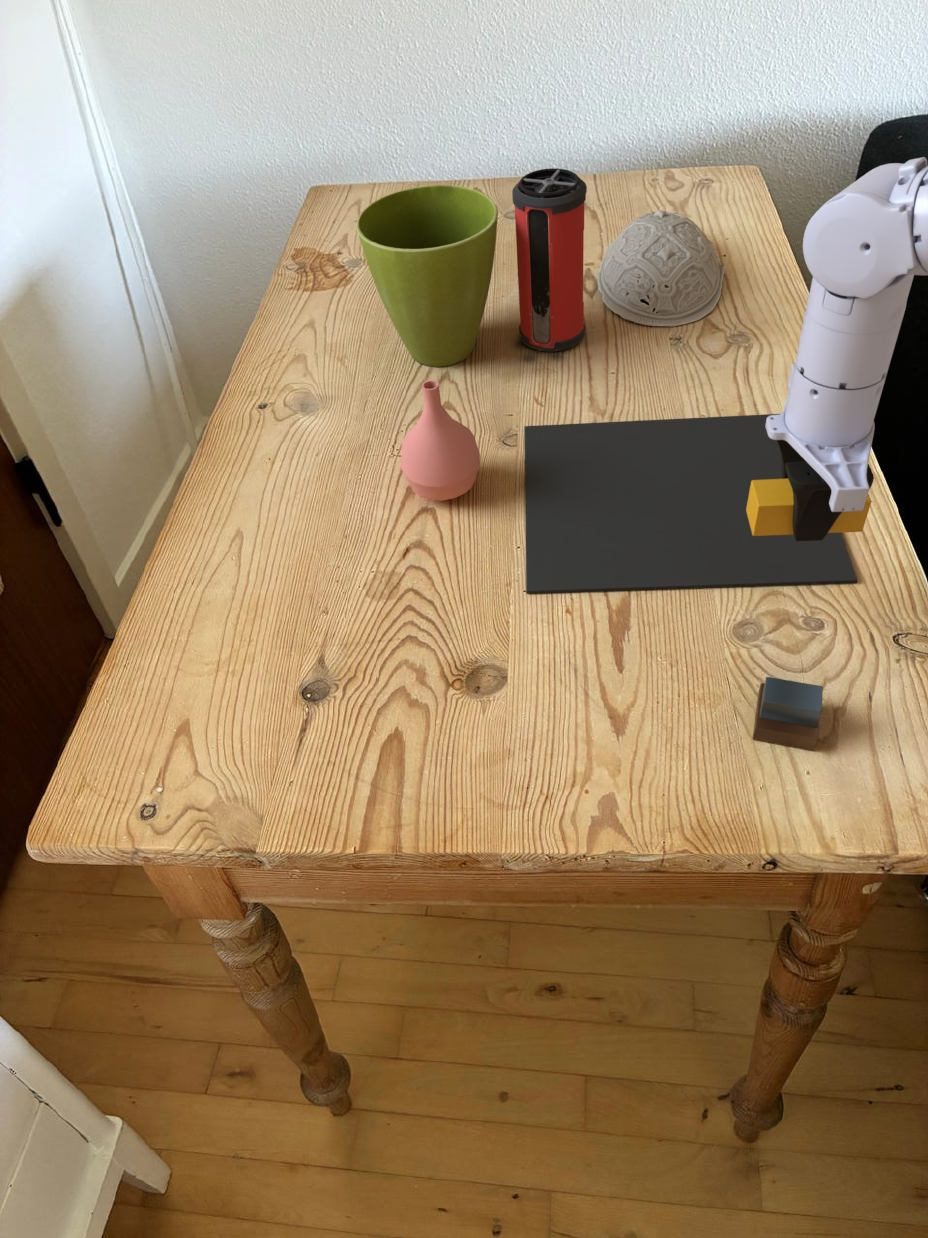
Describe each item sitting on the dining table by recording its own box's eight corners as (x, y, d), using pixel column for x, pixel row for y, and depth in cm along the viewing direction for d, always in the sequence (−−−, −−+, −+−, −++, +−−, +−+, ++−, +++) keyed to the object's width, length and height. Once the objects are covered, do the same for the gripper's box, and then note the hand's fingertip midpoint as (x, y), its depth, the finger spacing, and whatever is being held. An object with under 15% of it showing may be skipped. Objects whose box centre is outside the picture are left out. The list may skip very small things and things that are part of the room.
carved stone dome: (593, 322, 110) (600, 266, 105) (600, 234, 127) (607, 182, 122) (727, 334, 109) (740, 278, 104) (715, 243, 126) (727, 192, 121)
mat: (799, 415, 96) (799, 412, 95) (856, 583, 80) (857, 579, 79) (524, 429, 98) (524, 425, 98) (526, 594, 82) (526, 590, 82)
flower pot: (516, 375, 105) (509, 236, 93) (385, 396, 104) (362, 259, 93) (493, 309, 115) (484, 176, 103) (373, 327, 115) (351, 196, 103)
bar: (852, 505, 72) (861, 474, 70) (862, 531, 70) (871, 501, 68) (745, 510, 72) (751, 479, 70) (752, 536, 70) (758, 506, 68)
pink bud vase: (390, 501, 92) (370, 397, 83) (431, 457, 96) (416, 354, 88) (457, 523, 89) (445, 418, 80) (496, 476, 93) (488, 372, 84)
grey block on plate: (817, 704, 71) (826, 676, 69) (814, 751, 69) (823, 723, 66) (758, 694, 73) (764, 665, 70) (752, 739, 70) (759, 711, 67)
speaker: (509, 348, 109) (500, 192, 96) (533, 315, 113) (528, 161, 100) (572, 358, 106) (571, 199, 93) (594, 324, 111) (596, 167, 98)
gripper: (758, 311, 66) (734, 463, 76) (801, 435, 57) (767, 591, 67) (861, 305, 66) (822, 459, 76) (922, 429, 56) (869, 588, 66)
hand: (803, 521), depth 71 cm, fingers closed on bar, 3 cm apart
